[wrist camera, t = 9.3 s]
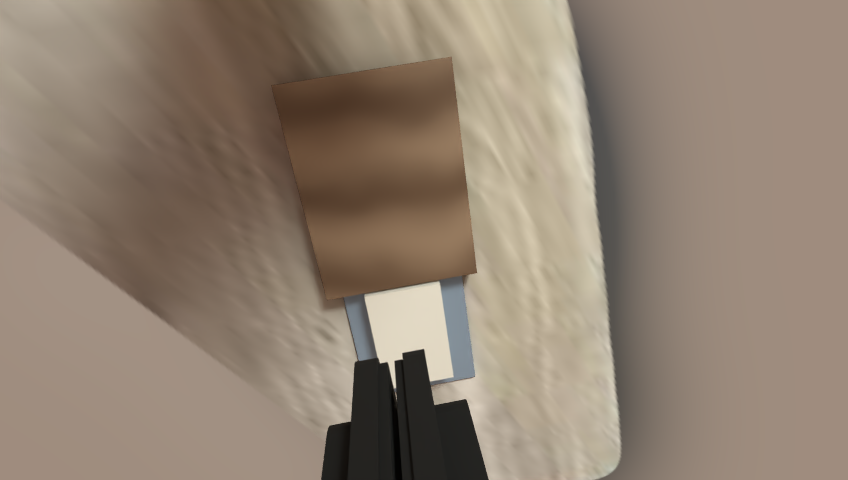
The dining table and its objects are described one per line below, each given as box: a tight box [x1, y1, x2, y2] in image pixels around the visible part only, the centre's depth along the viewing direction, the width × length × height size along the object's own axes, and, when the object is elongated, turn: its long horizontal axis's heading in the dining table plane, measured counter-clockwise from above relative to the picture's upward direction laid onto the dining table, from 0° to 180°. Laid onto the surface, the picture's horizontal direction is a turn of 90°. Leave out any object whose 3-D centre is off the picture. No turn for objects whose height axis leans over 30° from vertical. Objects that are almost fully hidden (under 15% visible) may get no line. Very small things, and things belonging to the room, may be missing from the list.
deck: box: [271, 57, 477, 300], centre depth 32 cm, size 16×12×2 cm
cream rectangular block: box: [364, 280, 454, 388], centre depth 36 cm, size 9×6×2 cm, turn 9°
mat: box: [344, 276, 475, 392], centre depth 38 cm, size 11×10×1 cm
